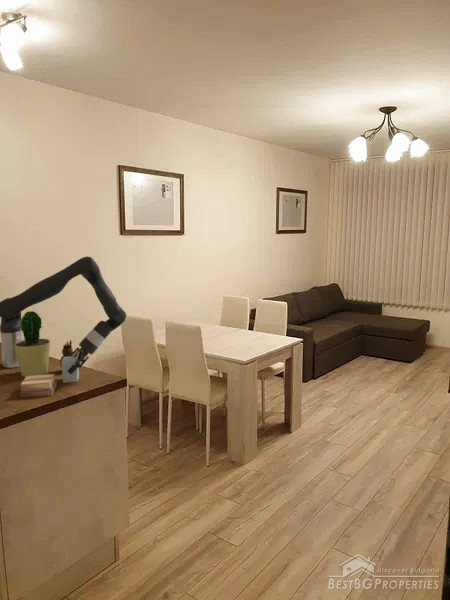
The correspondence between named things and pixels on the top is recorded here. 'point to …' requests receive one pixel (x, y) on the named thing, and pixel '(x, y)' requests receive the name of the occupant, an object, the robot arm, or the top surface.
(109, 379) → the top surface
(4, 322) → the robot arm
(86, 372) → the top surface
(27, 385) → the tower top
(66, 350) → the wooden figurine
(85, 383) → the top surface
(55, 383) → the tower base
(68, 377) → the block
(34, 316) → the potted cactus
